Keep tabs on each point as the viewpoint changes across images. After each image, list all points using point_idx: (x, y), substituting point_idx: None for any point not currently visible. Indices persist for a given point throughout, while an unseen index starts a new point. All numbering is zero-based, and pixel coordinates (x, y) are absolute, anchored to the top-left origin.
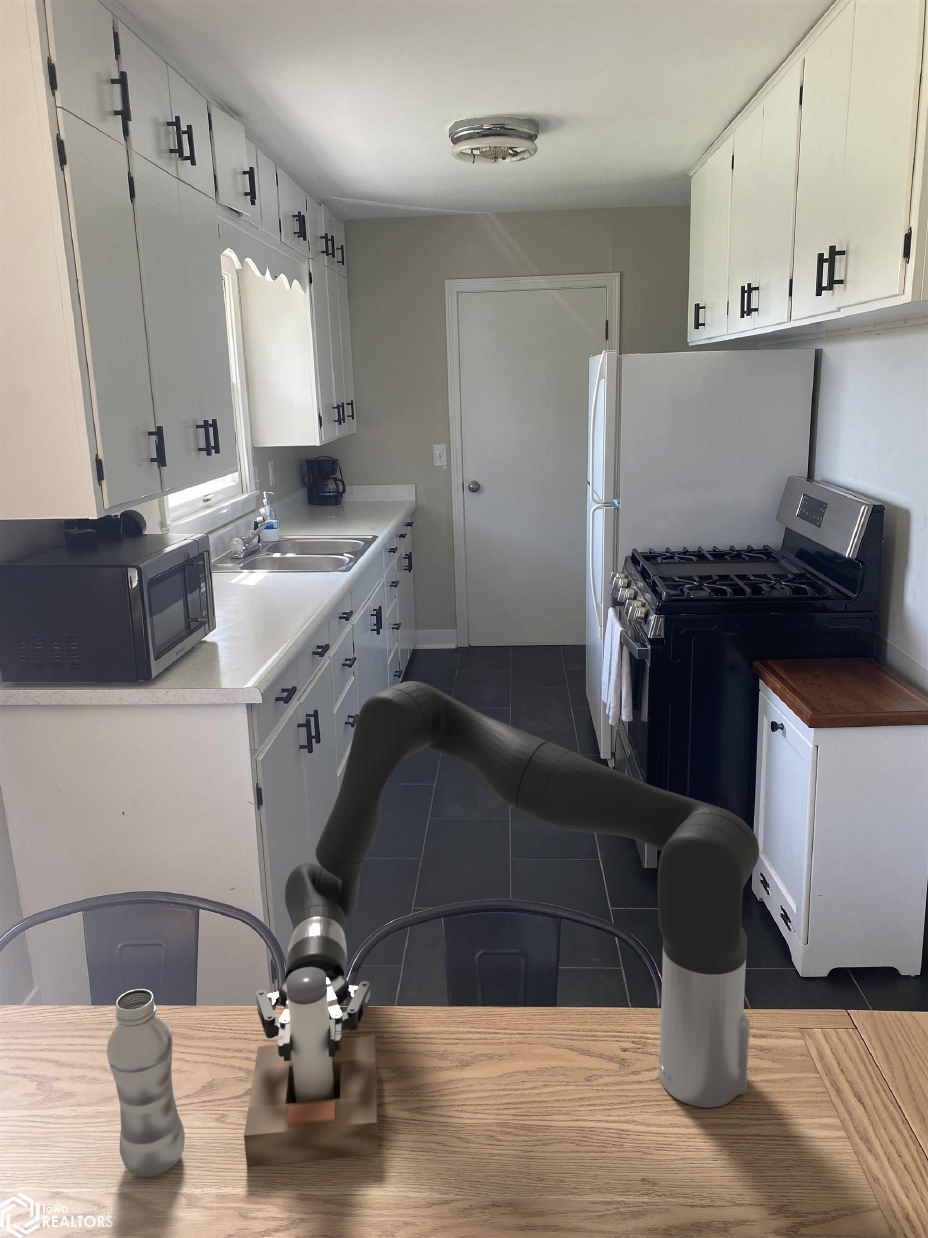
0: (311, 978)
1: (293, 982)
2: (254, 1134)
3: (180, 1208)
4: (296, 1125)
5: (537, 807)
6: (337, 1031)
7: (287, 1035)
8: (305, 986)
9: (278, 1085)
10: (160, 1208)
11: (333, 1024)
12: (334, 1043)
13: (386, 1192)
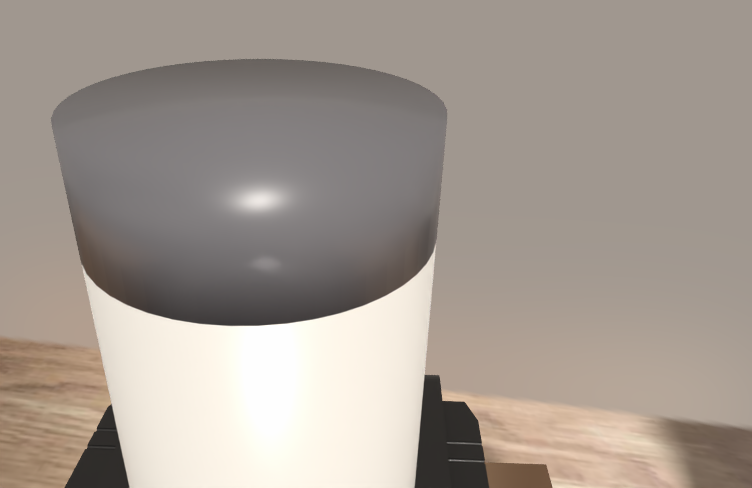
0: (209, 101)
1: (377, 98)
2: (510, 464)
3: (659, 456)
4: None
5: None
6: (108, 452)
7: (423, 424)
8: (276, 71)
9: None
10: (713, 463)
11: (115, 465)
12: None
13: None
